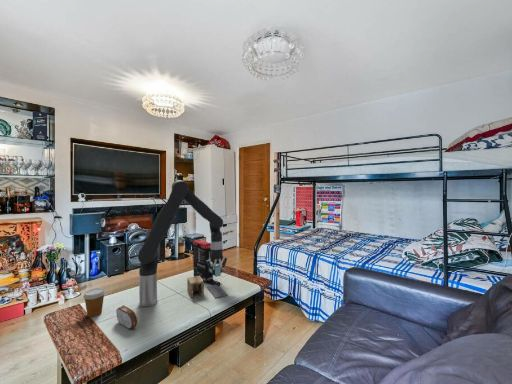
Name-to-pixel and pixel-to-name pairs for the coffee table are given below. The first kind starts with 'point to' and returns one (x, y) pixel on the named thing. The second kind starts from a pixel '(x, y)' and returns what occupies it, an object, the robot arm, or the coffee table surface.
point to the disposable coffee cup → (94, 301)
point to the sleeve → (195, 285)
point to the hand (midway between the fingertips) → (216, 274)
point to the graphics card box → (202, 259)
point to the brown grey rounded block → (126, 317)
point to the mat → (217, 291)
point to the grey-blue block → (216, 270)
